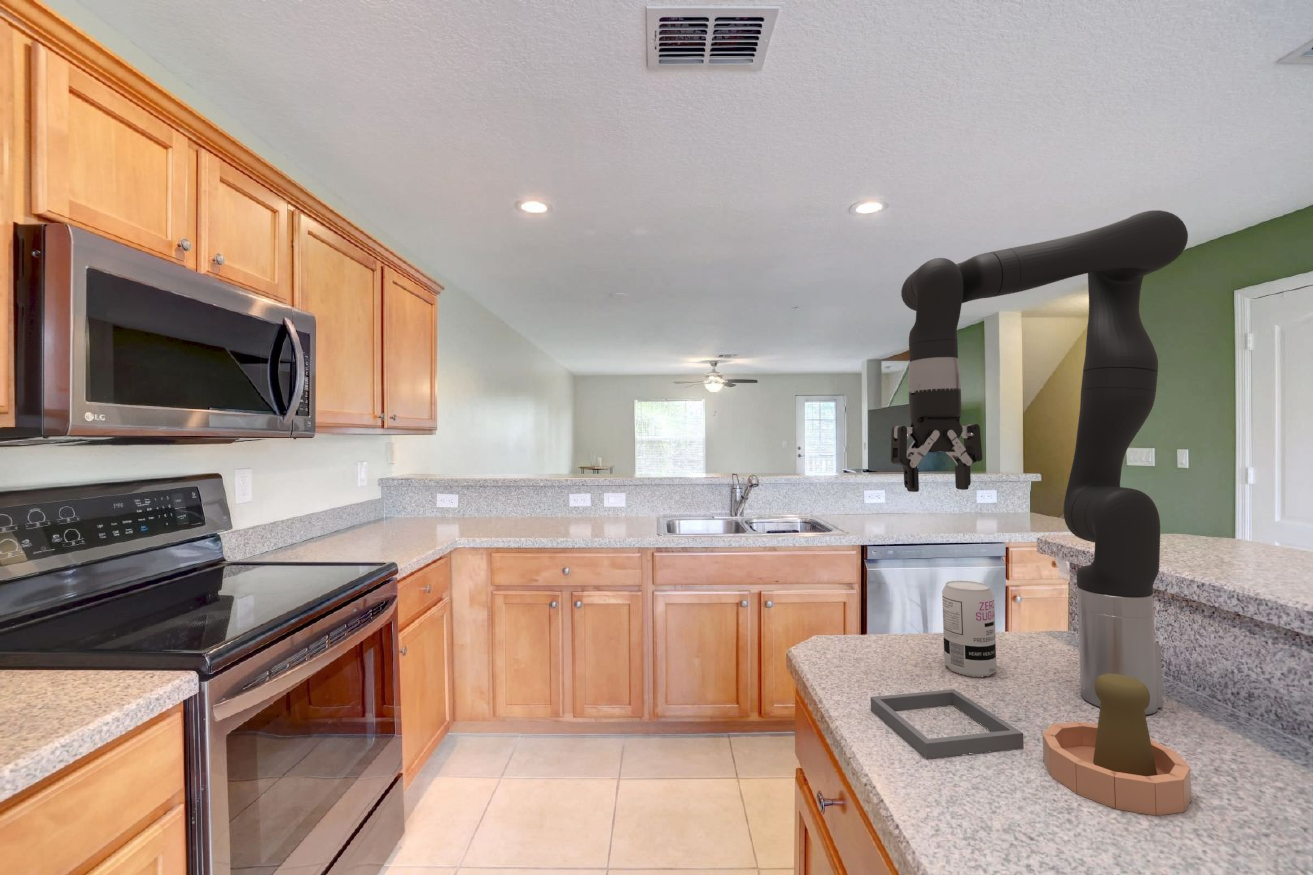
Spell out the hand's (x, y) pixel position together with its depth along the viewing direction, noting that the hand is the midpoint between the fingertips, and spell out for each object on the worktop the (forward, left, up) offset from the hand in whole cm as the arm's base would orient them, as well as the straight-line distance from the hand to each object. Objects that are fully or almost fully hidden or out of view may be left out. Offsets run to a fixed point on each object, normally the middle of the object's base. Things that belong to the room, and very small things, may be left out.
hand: (937, 490), depth 91 cm
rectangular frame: (+6, +8, -33) cm, 35 cm away
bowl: (-6, +23, -33) cm, 41 cm away
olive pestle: (-8, +23, -32) cm, 40 cm away
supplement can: (-12, -10, -33) cm, 37 cm away
